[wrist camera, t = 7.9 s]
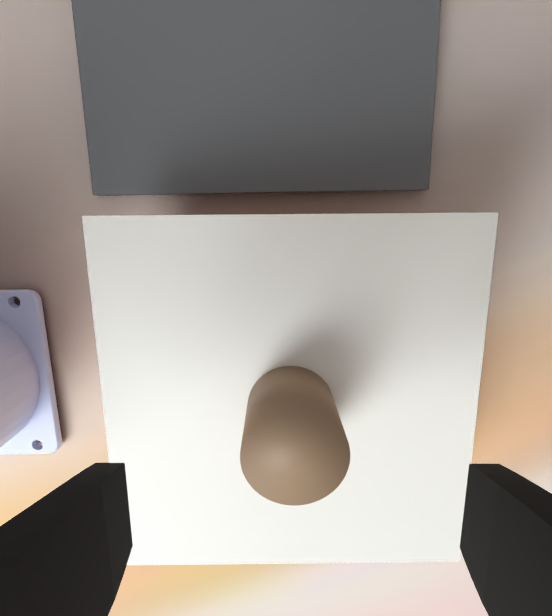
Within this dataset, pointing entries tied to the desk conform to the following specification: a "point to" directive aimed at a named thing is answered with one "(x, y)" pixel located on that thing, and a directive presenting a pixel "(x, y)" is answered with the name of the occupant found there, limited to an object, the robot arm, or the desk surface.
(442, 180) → the desk surface
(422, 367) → the lid
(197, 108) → the mat
